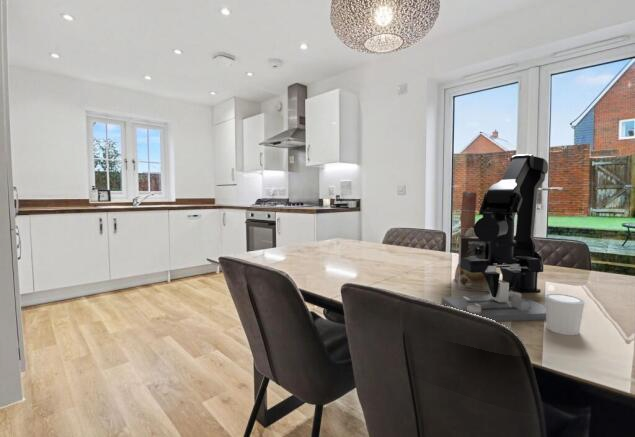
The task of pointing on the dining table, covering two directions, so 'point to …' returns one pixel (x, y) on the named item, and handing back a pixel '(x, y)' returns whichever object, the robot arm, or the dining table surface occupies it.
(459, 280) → the coffee box
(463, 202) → the vase
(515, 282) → the robot arm
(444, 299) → the console
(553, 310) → the white cup
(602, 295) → the dining table surface
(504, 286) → the fader
